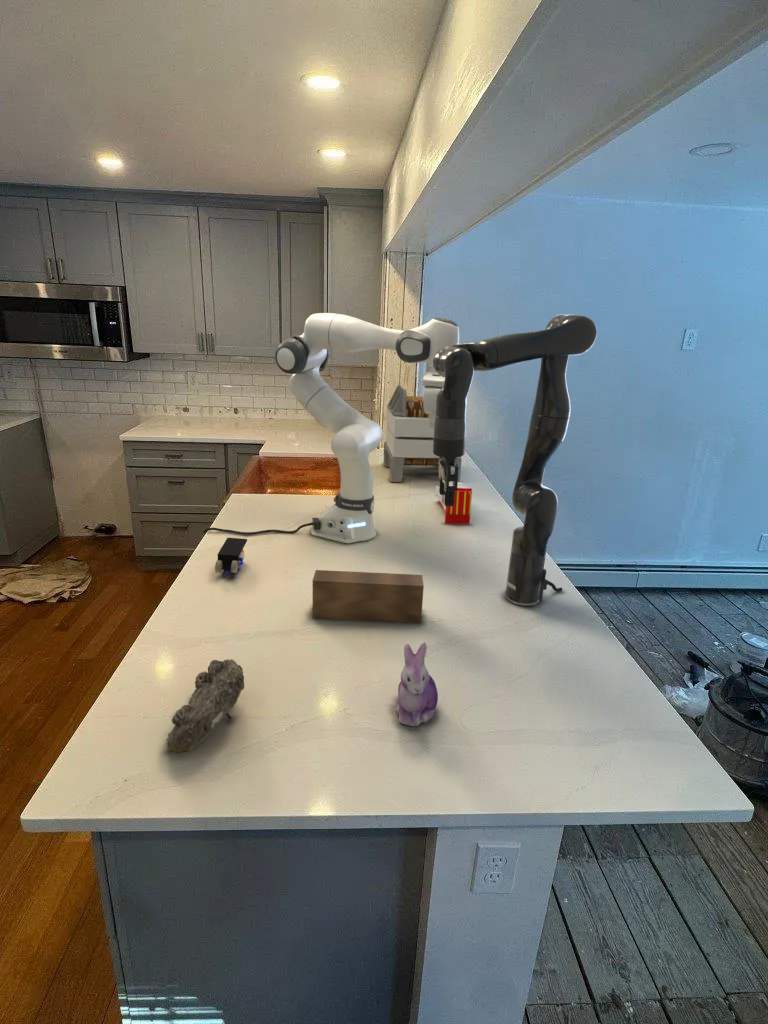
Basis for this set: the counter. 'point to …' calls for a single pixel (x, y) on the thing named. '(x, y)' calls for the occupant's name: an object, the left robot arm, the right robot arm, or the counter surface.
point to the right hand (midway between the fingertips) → (446, 499)
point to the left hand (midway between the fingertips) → (436, 424)
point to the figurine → (416, 689)
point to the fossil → (206, 705)
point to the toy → (457, 505)
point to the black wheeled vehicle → (230, 556)
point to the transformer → (408, 435)
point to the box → (367, 596)
